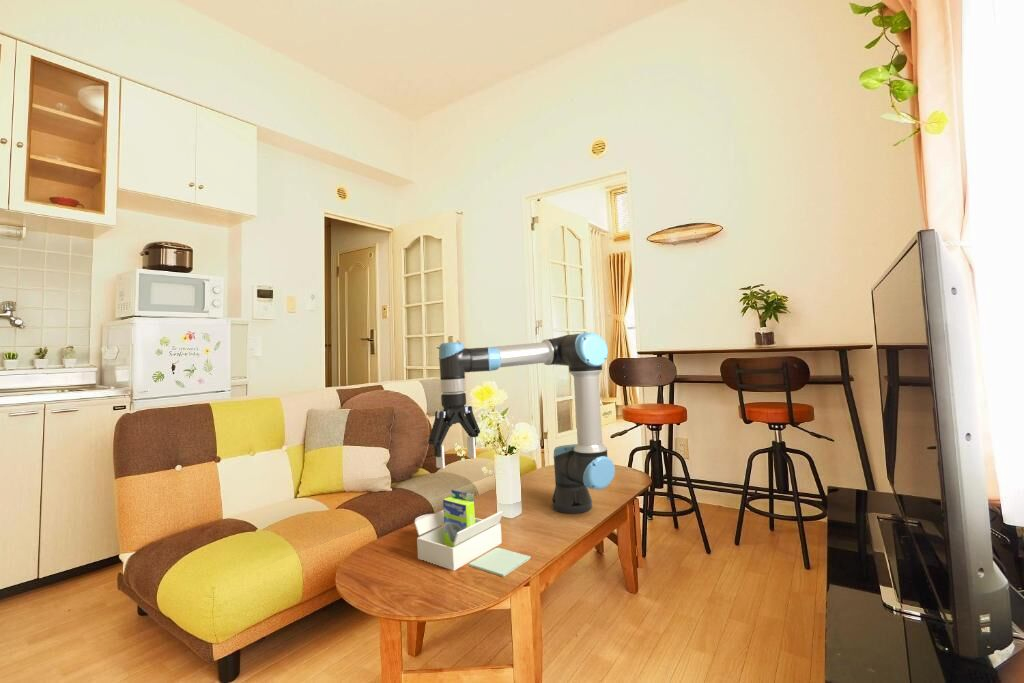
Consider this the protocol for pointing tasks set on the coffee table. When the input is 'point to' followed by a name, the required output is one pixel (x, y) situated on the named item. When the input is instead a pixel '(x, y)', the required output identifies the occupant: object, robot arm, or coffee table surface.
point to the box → (457, 515)
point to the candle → (422, 518)
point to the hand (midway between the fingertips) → (456, 462)
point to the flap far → (429, 522)
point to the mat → (499, 561)
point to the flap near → (477, 528)
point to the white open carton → (457, 547)
